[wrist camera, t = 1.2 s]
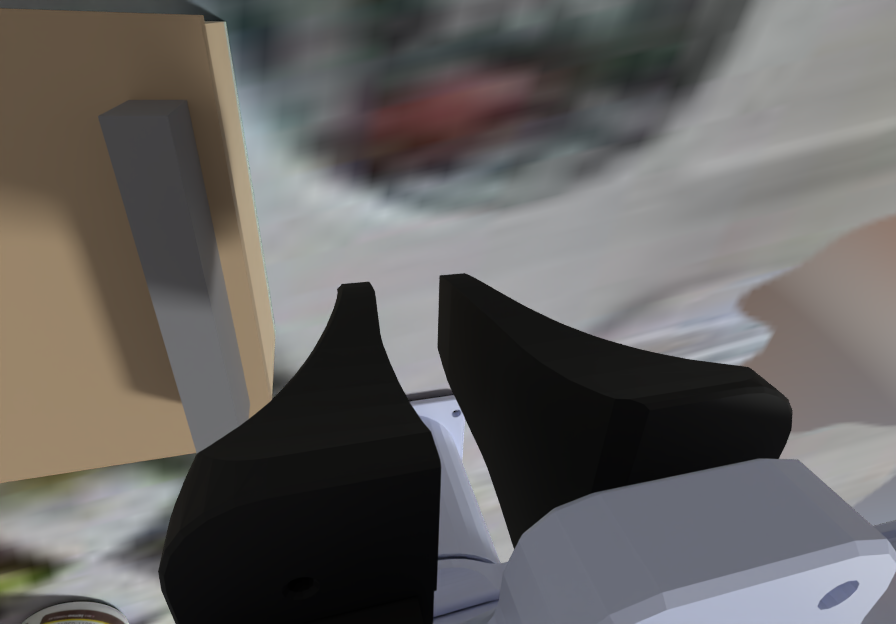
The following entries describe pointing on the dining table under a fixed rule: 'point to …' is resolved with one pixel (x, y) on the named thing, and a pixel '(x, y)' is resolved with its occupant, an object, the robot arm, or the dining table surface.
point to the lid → (117, 246)
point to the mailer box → (242, 183)
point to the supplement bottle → (78, 614)
